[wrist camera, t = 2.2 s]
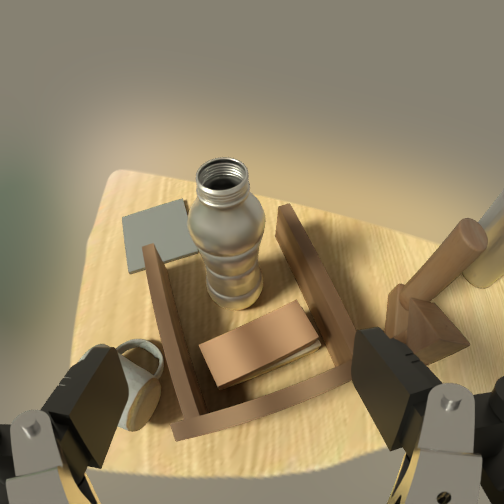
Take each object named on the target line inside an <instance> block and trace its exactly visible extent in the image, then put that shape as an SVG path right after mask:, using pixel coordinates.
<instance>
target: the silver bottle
mask: <svg viewBox="0 0 504 504" xmlns="http://www.w3.org/2000/svg"><path fill="white" fill-rule="evenodd" d="M196 183H197V189H196V191H197V198H196V200H195V201H194V202H193V204H192V205H191V207H190V210H189V214H188V220H187V227H188V231H189V234H190V236H191V238H192V241H193V242H194V244H195V245H196V247H197V249H198V250H199V252H200V254H201V255H202V258H203V260H204V263H205V265H206V272H207V275H206V286H207V291H208V293H209V295H210V297H211V298H212V299H213V300H214V302H215V303H217V304H218V305H219V306H221V307H222V308H225V309H228V310H241V309H245V308H247V307H249V306H251V305H252V304H253V303H254V302H255V301H256V300H257V299H258V297H259V295H260V293H261V291H262V289H263V277H262V273H261V269H260V267H259V262H258V254H259V246H260V243H261V240H262V236H263V233H264V228H265V213H264V210H263V208H262V206H261V204H260V202H259V200H258V199H257V198H256V197H255V196H254V195H253V194H252V193H251V192H250V184H249V181H248V170H247V168H246V166H245V165H244V164H243V163H242V162H240V161H239V160H236V159H233V158H226V157H223V158H215V159H212V160H210V161H207V162H206V163H204V164H203V165H202V166H201V167H200V168H199V169H198V171H197V173H196Z"/></svg>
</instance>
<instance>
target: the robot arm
mask: <svg viewBox="0 0 504 504" xmlns="http://www.w3.org/2000/svg"><path fill="white" fill-rule="evenodd" d="M478 223H479V224H480V225H481V226H482V228H483V229H484V230H485V232H486V234H487V238H488V245H487V248H486V250H485V251H484V252H483V253H482V254H481V255H480V256H479V257H478V258H477V259H476V260H475V261H474V262H473V263H472V264H471V265H470V266H469V267H468V268H467V269H466V270H465V271H464V272H462V274H463V275H464V277H465V278H466V279H467V280H468V281H469V282H470V283H471V284H472V285H474V286H476V287H478V288H487V287H489V286H490V285H492V284H493V283H494V282H495V281H497V280H498V279H499V278H500V277H502V276H503V275H504V189H503V191H502V192H501V193H500V195H499V196H498V197H497V199H496V200H495V201H494V203H493V204H492V205H491V207H490V208H489V209H488V210H487V212H486V213H485V214H484V215H483V217H482V218H481V219H480V220H479V222H478ZM351 377H352V381H353V384H354V386H355V388H356V390H357V392H358V394H359V395H360V397H361V399H362V401H363V403H364V404H365V406H366V408H367V410H368V412H369V413H370V415H371V417H372V419H373V421H374V423H375V424H376V426H377V428H378V430H379V432H380V434H381V435H382V437H383V439H384V441H385V443H386V445H387V447H388V448H389V450H390V451H393V450H396V449H399V448H402V447H403V448H404V450H405V451H406V454H405V455H404V458H403V460H402V464H401V467H400V470H399V472H398V475H397V478H396V481H395V484H394V486H393V489H392V492H391V494H390V497H389V499H388V502H387V504H477V503H478V496H479V489H480V485H481V486H482V488H483V490H484V492H485V493H486V495H487V497H488V499H489V500H490V502H491V504H504V376H503V377H501V378H500V379H498V381H497V382H496V384H495V387H494V389H493V391H492V392H489V393H483V394H477V395H473V394H472V393H471V392H470V391H469V390H468V389H467V388H465V387H463V386H461V385H458V384H454V383H445V384H443V383H442V382H441V381H440V380H439V379H438V378H437V377H436V376H435V375H434V374H433V373H432V371H431V370H430V369H429V368H428V367H427V366H426V365H425V364H424V363H423V362H422V361H420V359H419V358H418V357H417V356H416V355H415V354H414V352H413V351H412V350H411V349H410V348H409V347H408V346H407V345H406V344H404V343H402V342H400V341H398V340H396V339H394V338H392V339H390V338H389V337H388V336H387V335H386V334H385V333H384V332H383V331H382V330H381V328H379V327H374V328H368V329H362V330H357V331H356V333H355V338H354V348H353V357H352V365H351ZM128 398H129V387H128V383H127V380H126V377H125V374H124V371H123V368H122V365H121V361H120V358H119V355H118V352H117V350H116V349H115V348H114V347H93V348H92V349H91V350H90V352H89V353H88V354H87V356H86V357H85V358H84V360H81V361H79V362H78V363H76V364H75V365H74V366H72V367H71V368H70V369H69V371H68V372H67V374H66V375H65V378H63V379H62V380H61V382H60V383H59V386H57V387H56V389H55V390H54V392H53V393H52V394H51V396H50V397H49V398H48V400H47V401H46V403H45V404H44V406H43V407H42V409H41V410H29V411H26V412H24V413H21V414H20V415H18V416H17V417H16V418H15V419H14V420H13V422H12V424H11V425H5V424H4V425H2V424H0V504H101V503H100V501H99V499H98V497H97V495H96V493H95V491H94V489H93V486H92V484H91V482H90V480H89V478H88V476H87V474H86V473H85V471H86V469H87V466H90V467H94V468H99V469H101V468H102V465H103V463H104V460H105V457H106V455H107V452H108V449H109V447H110V444H111V441H112V439H113V436H114V434H115V431H116V429H117V426H118V424H119V421H120V418H121V416H122V414H123V411H124V409H125V406H126V404H127V401H128Z"/></svg>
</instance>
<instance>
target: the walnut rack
mask: <svg viewBox="0 0 504 504" xmlns="http://www.w3.org/2000/svg"><path fill="white" fill-rule="evenodd" d="M275 237H276V239H277V241H278V243H279V245H280V247H281V249H282V252H283V254H284V256H285V258H286V260H287V262H288V264H289V266H290V268H291V271H292V273H293V275H294V277H295V279H296V281H297V283H298V285H299V288H300V290H301V292H302V294H303V296H304V298H305V301H306V303H307V305H308V307H309V309H310V311H311V314H312V316H313V318H314V320H315V322H316V324H317V327H318V329H319V331H320V333H321V336H322V338H323V340H324V342H325V344H326V347H327V349H328V351H329V353H330V356H331V358H332V360H333V362H334V365H335V368H333V369H330V370H328V371H326V372H324V373H321V374H319V375H317V376H314V377H312V378H309V379H307V380H305V381H302V382H300V383H297V384H295V385H292V386H289V387H287V388H284V389H282V390H279V391H276V392H273V393H271V394H268V395H265V396H262V397H259V398H256V399H253V400H251V401H247V402H244V403H241V404H238V405H235V406H232V407H229V408H225V409H222V410H219V411H215V412H212V413H208V411H207V408H206V405H205V402H204V399H203V396H202V393H201V390H200V387H199V384H198V381H197V378H196V375H195V371H194V368H193V365H192V362H191V358H190V355H189V352H188V348H187V345H186V342H185V338H184V335H183V331H182V327H181V324H180V320H179V316H178V313H177V309H176V305H175V301H174V297H173V293H172V289H171V285H170V281H169V277H168V273H167V269H166V267H165V265H164V263H163V261H162V259H161V257H160V255H159V253H158V251H157V249H156V247H155V245H154V243H152V244H149V245H145V246H142V252H143V257H144V263H145V269H146V274H147V279H148V284H149V289H150V294H151V299H152V303H153V308H154V313H155V317H156V321H157V325H158V330H159V334H160V338H161V342H162V346H163V350H164V353H165V357H166V361H167V365H168V368H169V372H170V375H171V379H172V382H173V385H174V389H175V392H176V395H177V399H178V402H179V405H180V408H181V411H182V414H183V417H184V420H181V421H177V422H173V423H170V426H171V429H172V432H173V435H174V438H175V441H180V440H185V439H189V438H193V437H197V436H201V435H205V434H209V433H212V432H216V431H220V430H223V429H227V428H230V427H233V426H236V425H240V424H243V423H246V422H249V421H252V420H255V419H258V418H261V417H264V416H267V415H270V414H272V413H275V412H278V411H281V410H283V409H286V408H289V407H291V406H294V405H296V404H299V403H301V402H304V401H306V400H309V399H311V398H313V397H316V396H318V395H320V394H323V393H325V392H327V391H329V390H332V389H334V388H336V387H338V386H340V385H342V384H345V383H347V382H349V381H351V380H352V377H351V365H352V357H353V348H354V338H355V333H356V329H355V327H354V325H353V323H352V321H351V319H350V317H349V315H348V313H347V311H346V309H345V307H344V305H343V303H342V301H341V299H340V297H339V295H338V293H337V291H336V289H335V287H334V285H333V283H332V281H331V279H330V277H329V275H328V273H327V271H326V269H325V267H324V265H323V263H322V262H321V260H320V258H319V256H318V254H317V252H316V250H315V248H314V247H313V245H312V243H311V241H310V239H309V237H308V235H307V234H306V232H305V230H304V228H303V226H302V224H301V223H300V221H299V219H298V217H297V215H296V214H295V212H294V210H293V208H292V206H291V205H290V203H289V204H286V205H282V206H279V207H278V216H277V225H276V235H275Z"/></svg>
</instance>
